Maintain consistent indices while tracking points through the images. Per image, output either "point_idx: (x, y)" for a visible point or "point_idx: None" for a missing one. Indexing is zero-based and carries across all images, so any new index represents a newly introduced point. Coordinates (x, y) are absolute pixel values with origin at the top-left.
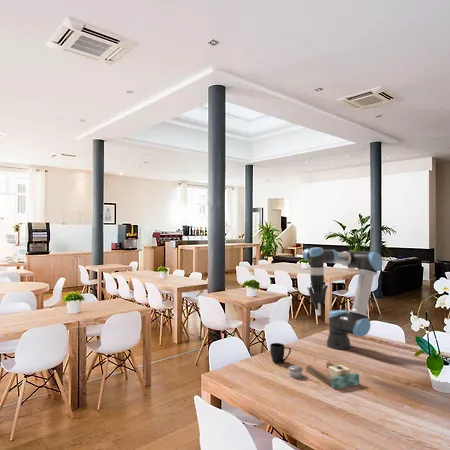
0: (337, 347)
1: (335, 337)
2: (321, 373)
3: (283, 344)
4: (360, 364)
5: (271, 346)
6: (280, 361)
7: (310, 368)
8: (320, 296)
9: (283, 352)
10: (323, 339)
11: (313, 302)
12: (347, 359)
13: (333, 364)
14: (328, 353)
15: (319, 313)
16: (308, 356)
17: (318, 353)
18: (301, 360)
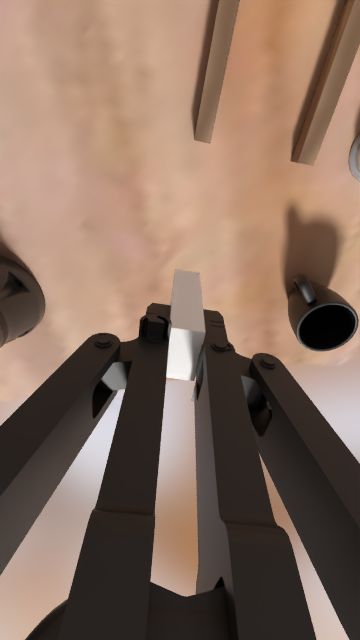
0: (25, 274)
1: (5, 302)
2: (352, 29)
3: (299, 322)
4: (43, 81)
5: (355, 330)
6: (312, 283)
7: (327, 127)
8: (149, 413)
9: (314, 292)
10: (17, 361)
11: (280, 371)
12: (60, 167)
13: (203, 100)
14: (88, 259)
15: (189, 278)
16: None
17: (123, 278)
18: (229, 260)
